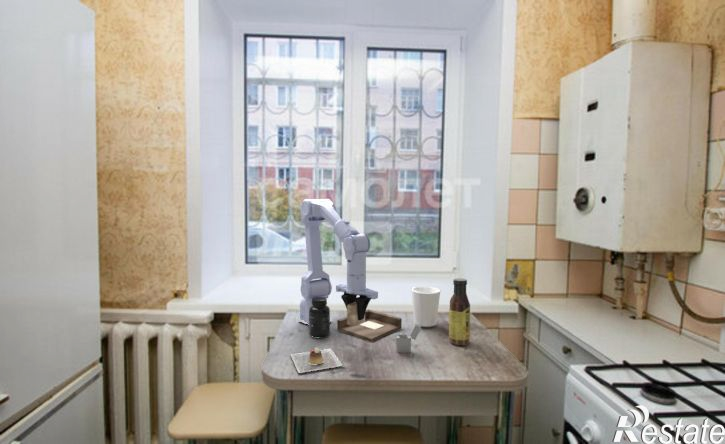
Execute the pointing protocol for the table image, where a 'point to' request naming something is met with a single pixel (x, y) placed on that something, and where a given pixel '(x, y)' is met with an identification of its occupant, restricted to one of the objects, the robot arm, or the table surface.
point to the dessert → (317, 358)
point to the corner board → (371, 326)
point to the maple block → (353, 315)
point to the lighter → (406, 340)
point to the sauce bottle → (459, 314)
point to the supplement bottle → (319, 317)
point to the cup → (425, 306)
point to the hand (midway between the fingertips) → (356, 318)
